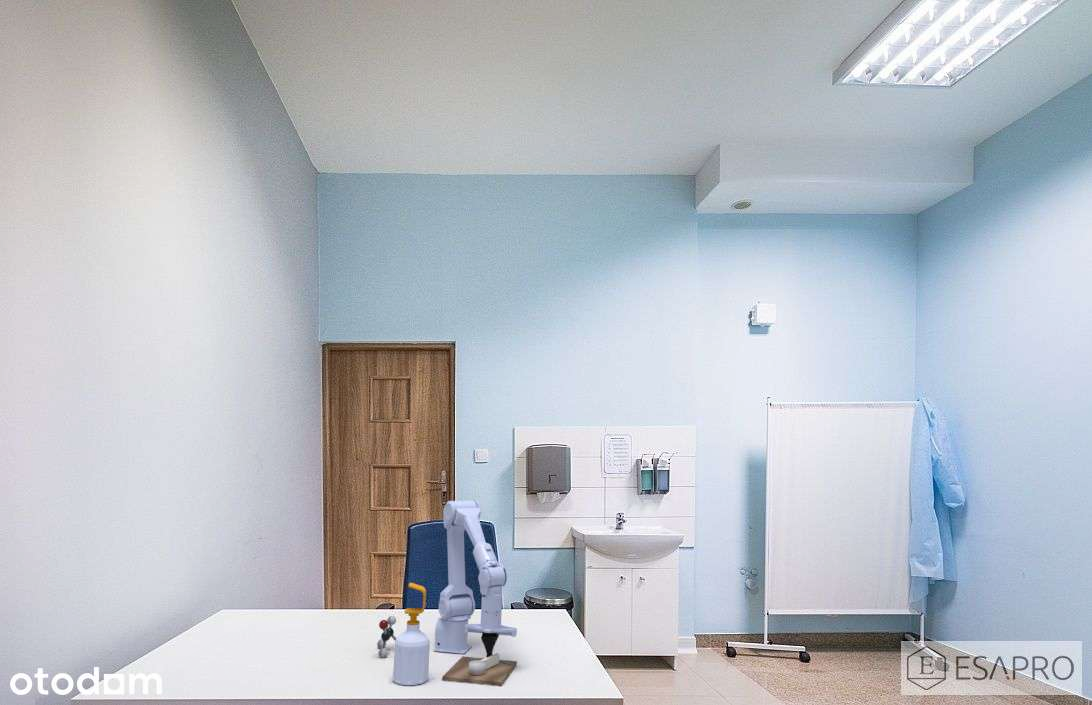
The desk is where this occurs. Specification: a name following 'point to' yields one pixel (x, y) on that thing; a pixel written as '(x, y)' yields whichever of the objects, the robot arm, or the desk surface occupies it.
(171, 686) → the desk surface
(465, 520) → the robot arm
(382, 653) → the molecular model
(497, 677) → the dial board
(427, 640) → the soap bottle
